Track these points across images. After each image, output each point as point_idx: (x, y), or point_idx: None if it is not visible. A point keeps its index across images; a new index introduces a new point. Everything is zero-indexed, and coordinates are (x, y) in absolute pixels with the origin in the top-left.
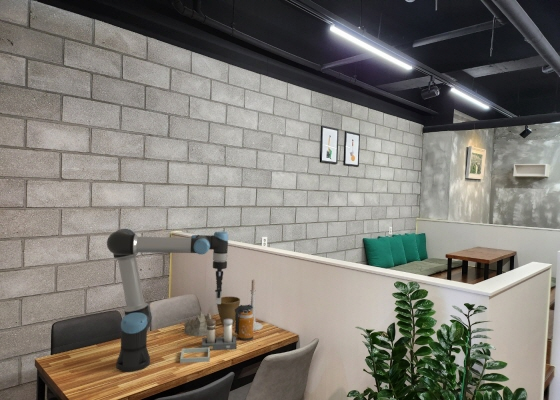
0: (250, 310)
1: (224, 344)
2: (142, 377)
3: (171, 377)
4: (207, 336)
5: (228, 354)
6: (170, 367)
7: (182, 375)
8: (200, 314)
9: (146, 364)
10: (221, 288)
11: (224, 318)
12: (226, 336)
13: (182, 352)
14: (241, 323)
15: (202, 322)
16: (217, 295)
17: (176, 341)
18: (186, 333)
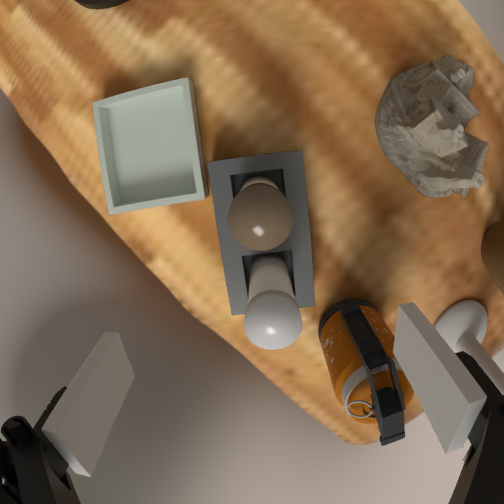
0: (490, 363)
1: (223, 265)
2: (40, 34)
3: (33, 112)
4: (244, 185)
5: (201, 272)
6: (88, 80)
7: (42, 140)
8: (447, 127)
9: (90, 5)
10: (10, 494)
11: (498, 243)
12: (250, 281)
13: (148, 90)
14: (340, 357)
15: (423, 140)
16: (47, 408)
17: (335, 36)
18: (411, 71)
